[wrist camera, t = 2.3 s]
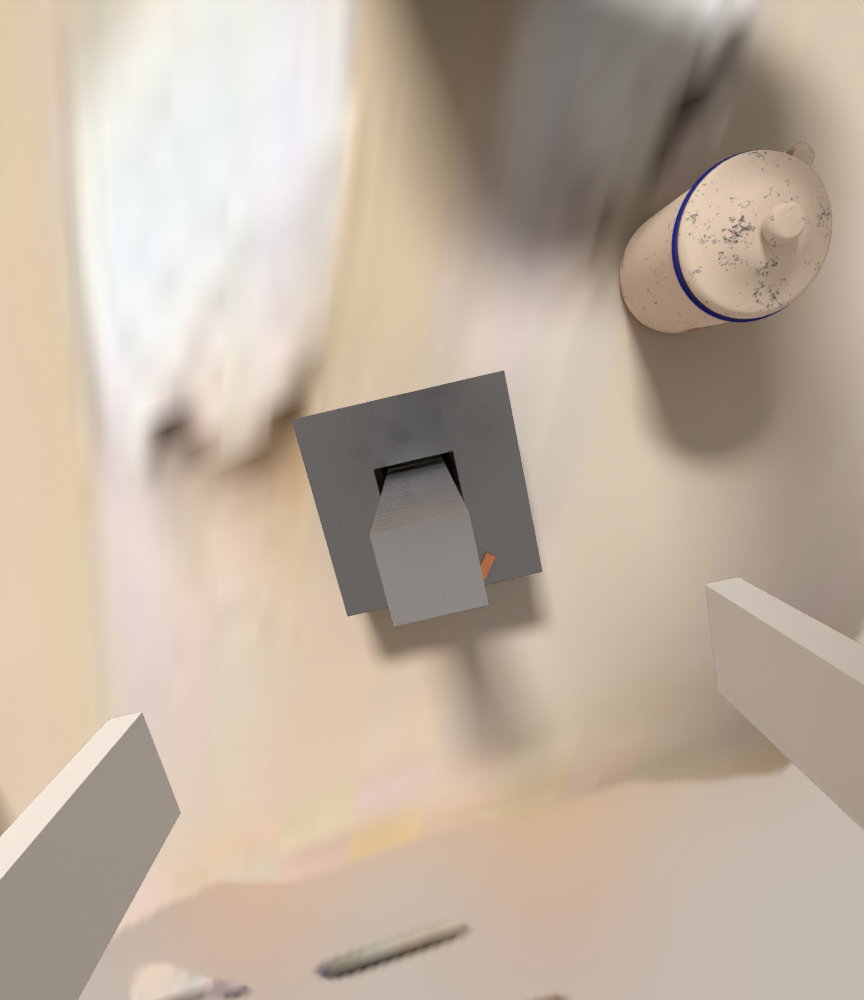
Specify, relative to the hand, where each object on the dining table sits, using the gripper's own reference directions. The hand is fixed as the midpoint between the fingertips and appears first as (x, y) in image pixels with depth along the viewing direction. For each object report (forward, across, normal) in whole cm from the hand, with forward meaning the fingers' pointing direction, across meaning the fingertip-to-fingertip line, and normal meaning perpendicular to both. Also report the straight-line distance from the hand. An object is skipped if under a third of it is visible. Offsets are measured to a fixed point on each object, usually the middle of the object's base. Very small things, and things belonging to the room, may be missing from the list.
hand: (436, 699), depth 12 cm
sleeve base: (+29, 0, 0) cm, 29 cm away
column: (+29, 0, 0) cm, 29 cm away
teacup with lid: (+29, +23, +12) cm, 39 cm away
